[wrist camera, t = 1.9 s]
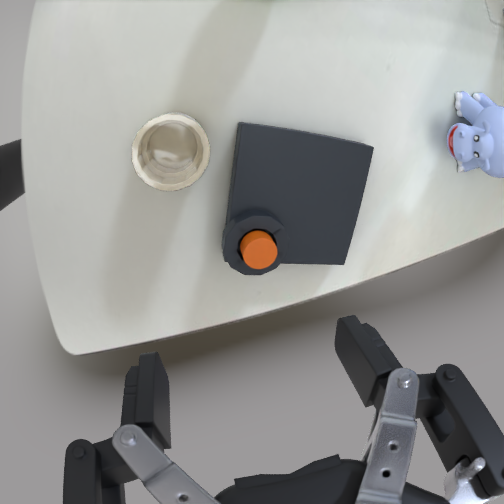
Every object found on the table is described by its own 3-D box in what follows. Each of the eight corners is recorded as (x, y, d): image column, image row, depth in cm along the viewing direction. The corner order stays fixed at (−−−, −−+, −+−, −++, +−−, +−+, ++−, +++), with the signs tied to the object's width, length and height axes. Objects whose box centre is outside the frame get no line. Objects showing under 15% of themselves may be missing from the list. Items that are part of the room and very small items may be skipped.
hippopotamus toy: (423, 90, 27) (487, 99, 19) (493, 93, 28) (546, 105, 20) (428, 179, 32) (484, 207, 24) (494, 164, 33) (542, 186, 25)
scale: (217, 256, 31) (221, 274, 28) (233, 121, 26) (239, 123, 23) (336, 260, 35) (349, 276, 32) (364, 143, 29) (383, 150, 26)
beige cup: (139, 174, 26) (130, 189, 22) (143, 111, 24) (134, 112, 19) (202, 177, 27) (205, 192, 23) (209, 114, 25) (214, 116, 21)
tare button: (238, 259, 28) (241, 269, 27) (242, 229, 27) (245, 237, 26) (269, 260, 29) (274, 269, 28) (275, 230, 28) (280, 239, 26)
